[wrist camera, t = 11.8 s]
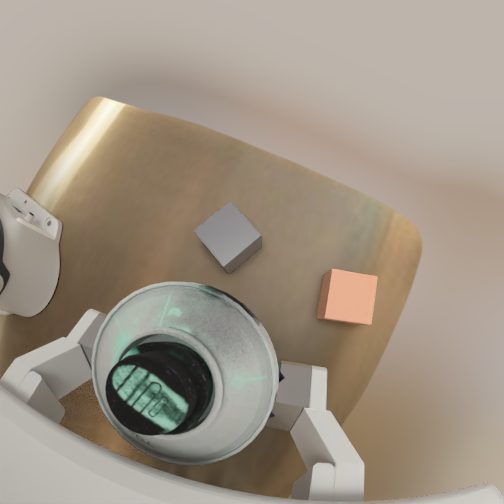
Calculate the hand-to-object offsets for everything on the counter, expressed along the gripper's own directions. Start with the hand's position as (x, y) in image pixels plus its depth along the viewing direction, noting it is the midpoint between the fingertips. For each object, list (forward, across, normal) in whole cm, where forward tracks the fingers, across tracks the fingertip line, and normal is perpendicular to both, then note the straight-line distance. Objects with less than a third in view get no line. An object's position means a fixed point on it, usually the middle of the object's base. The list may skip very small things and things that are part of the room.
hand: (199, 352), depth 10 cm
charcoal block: (+24, +4, +11) cm, 27 cm away
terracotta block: (+21, -10, +14) cm, 27 cm away
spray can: (+10, 0, +12) cm, 15 cm away
